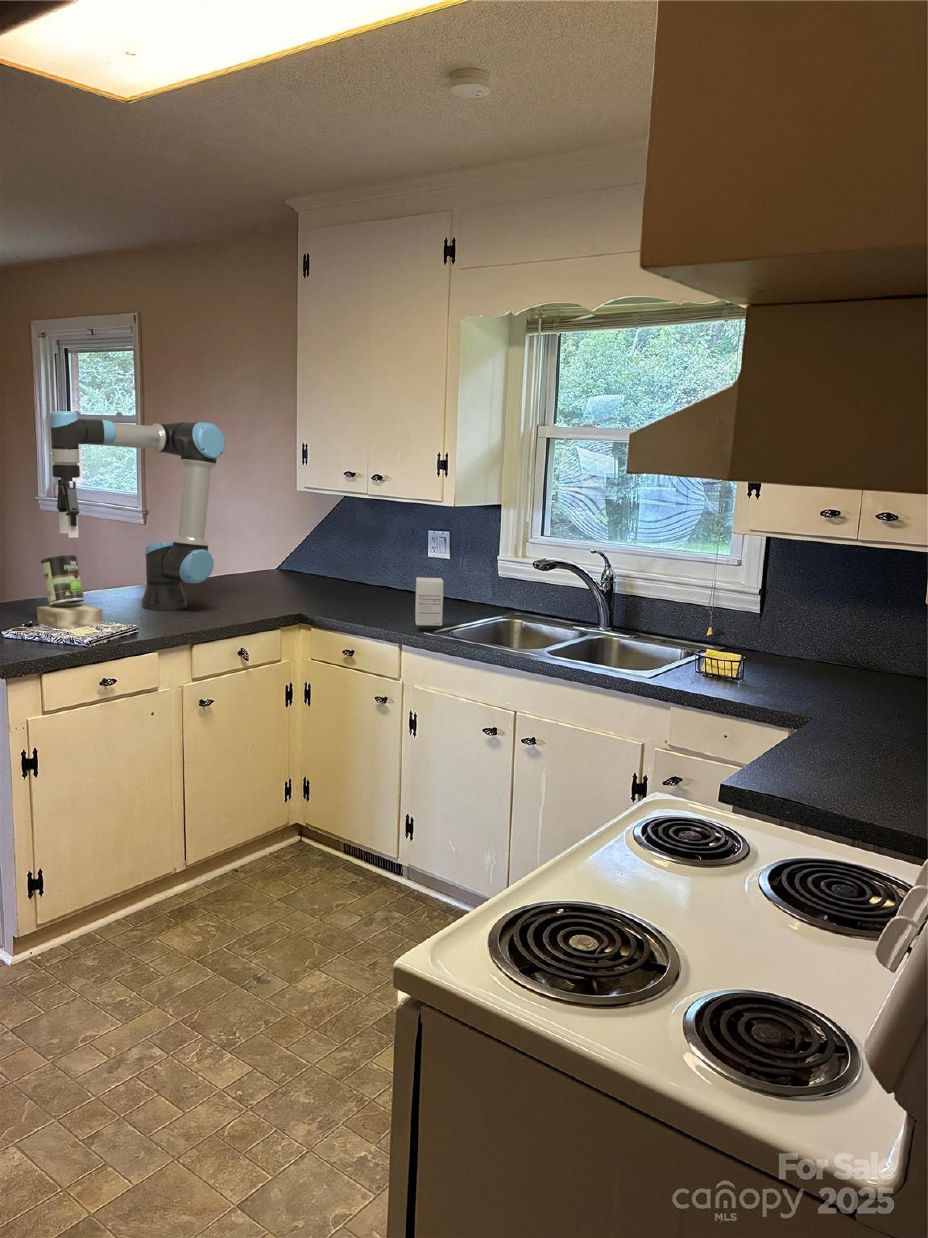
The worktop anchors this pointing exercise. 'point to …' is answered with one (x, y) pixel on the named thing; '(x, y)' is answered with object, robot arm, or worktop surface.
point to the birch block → (69, 615)
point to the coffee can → (62, 580)
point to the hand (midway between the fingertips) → (68, 535)
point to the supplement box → (429, 601)
